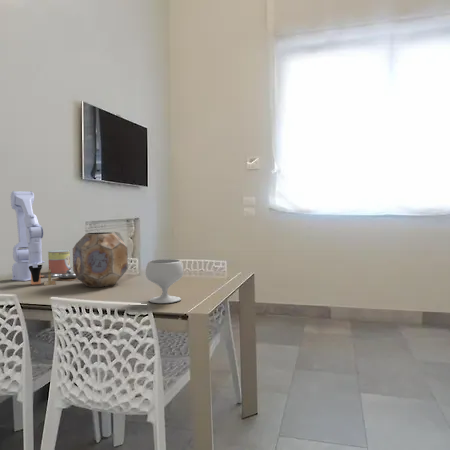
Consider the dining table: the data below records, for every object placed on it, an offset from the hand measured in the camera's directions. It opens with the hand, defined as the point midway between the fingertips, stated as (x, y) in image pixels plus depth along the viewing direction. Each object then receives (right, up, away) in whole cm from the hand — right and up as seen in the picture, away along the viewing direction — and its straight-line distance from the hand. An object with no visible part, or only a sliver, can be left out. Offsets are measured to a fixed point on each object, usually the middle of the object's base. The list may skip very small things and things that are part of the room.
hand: (36, 281), depth 202 cm
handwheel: (+10, -1, +15) cm, 18 cm away
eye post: (+5, -1, +2) cm, 6 cm away
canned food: (-3, 0, +38) cm, 38 cm away
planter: (+31, -1, -3) cm, 32 cm away
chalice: (+66, -2, -40) cm, 77 cm away
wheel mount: (+10, -1, +15) cm, 18 cm away
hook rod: (+4, -1, +2) cm, 5 cm away
